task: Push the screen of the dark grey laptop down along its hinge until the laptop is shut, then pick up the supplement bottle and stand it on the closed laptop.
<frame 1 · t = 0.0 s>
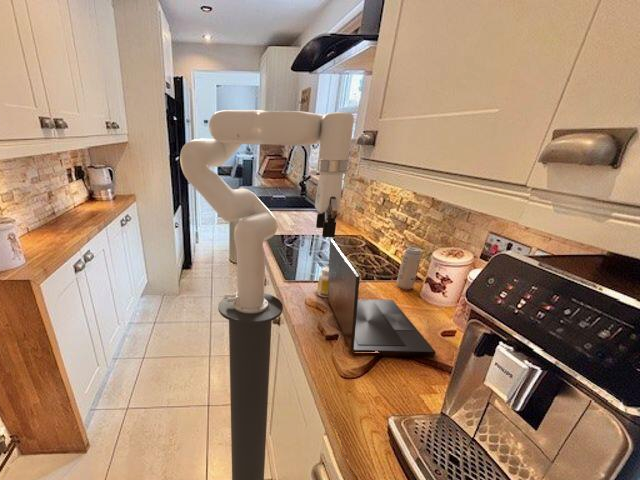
hand: (324, 232, 92), 27 cm above the worktop, tool pointing down, fingers open, 9 cm apart
laptop: (374, 326, 99), on the worktop
supplement bottle: (324, 294, 119), on the worktop
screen: (340, 289, 94), point 12 cm above the worktop, hinge at 95.0°
energy drink can: (404, 287, 125), on the worktop
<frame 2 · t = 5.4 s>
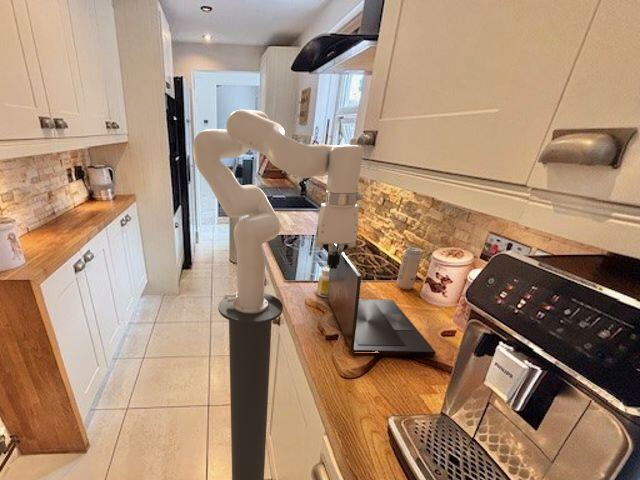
hand: (332, 266, 91), 19 cm above the worktop, tool pointing down, fingers closed
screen: (341, 289, 94), point 12 cm above the worktop, hinge at 93.9°, touching gripper
everything else where it was.
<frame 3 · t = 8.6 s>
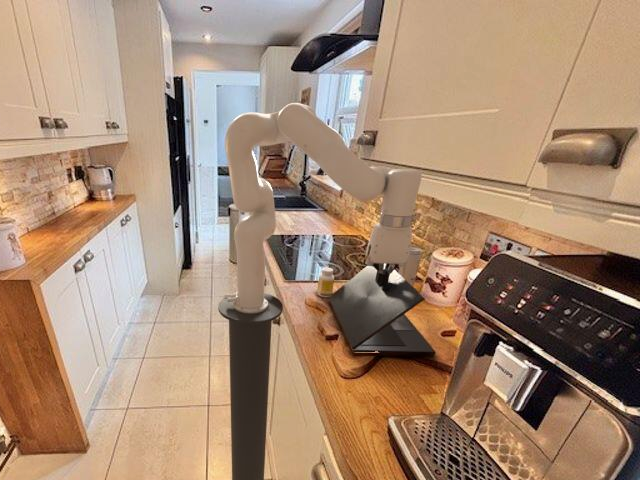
hand: (380, 284, 93), 14 cm above the worktop, tool pointing down, fingers closed
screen: (368, 298, 95), point 10 cm above the worktop, hinge at 46.0°, touching gripper
everything else where it was.
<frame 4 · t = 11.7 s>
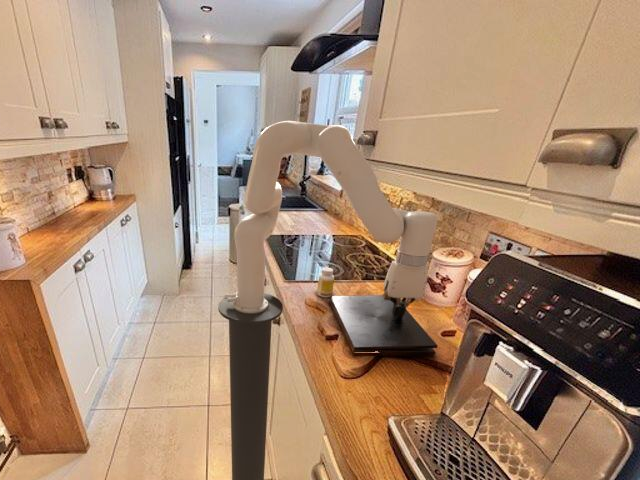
hand: (397, 316, 97), 4 cm above the worktop, tool pointing down, fingers closed
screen: (376, 318, 98), point 3 cm above the worktop, hinge at 3.0°, touching gripper, laptop
everything else where it was.
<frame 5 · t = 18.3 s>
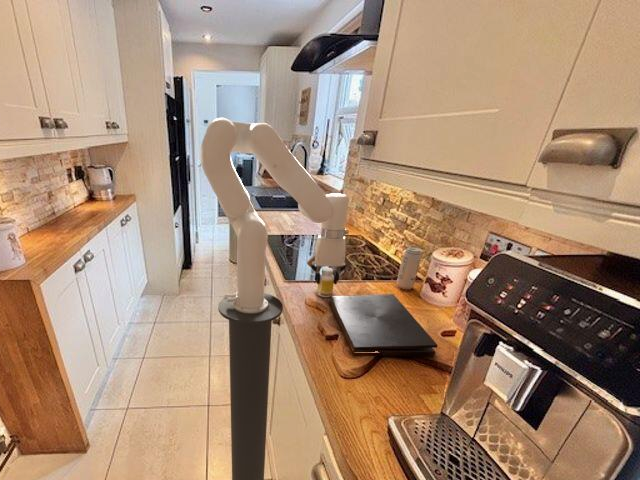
hand: (326, 282, 117), 5 cm above the worktop, tool pointing down, fingers closed on supplement bottle, 5 cm apart
supplement bottle: (324, 294, 119), on the worktop, touching gripper
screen: (376, 318, 98), point 3 cm above the worktop, hinge at 3.4°, touching laptop
everything else where it was.
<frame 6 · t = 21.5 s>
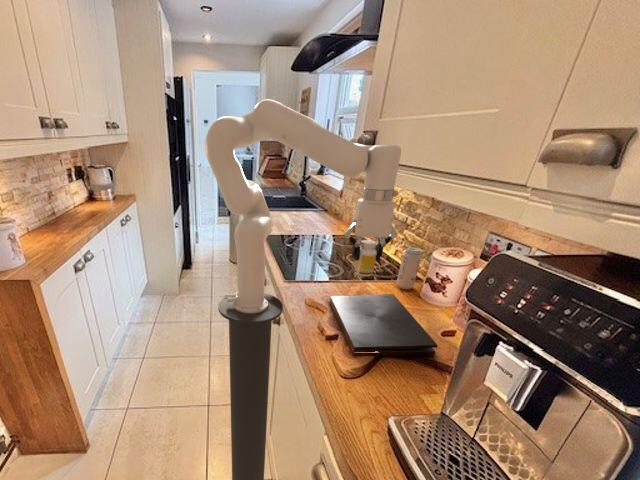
hand: (366, 258, 96), 20 cm above the worktop, tool pointing down, fingers closed on supplement bottle, 5 cm apart
supplement bottle: (363, 274, 98), point 14 cm above the worktop, touching gripper
everything else where it was.
when the fingers open (8 cm above the worktop, at t = 24.9 s): supplement bottle stays where it is, resting on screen.
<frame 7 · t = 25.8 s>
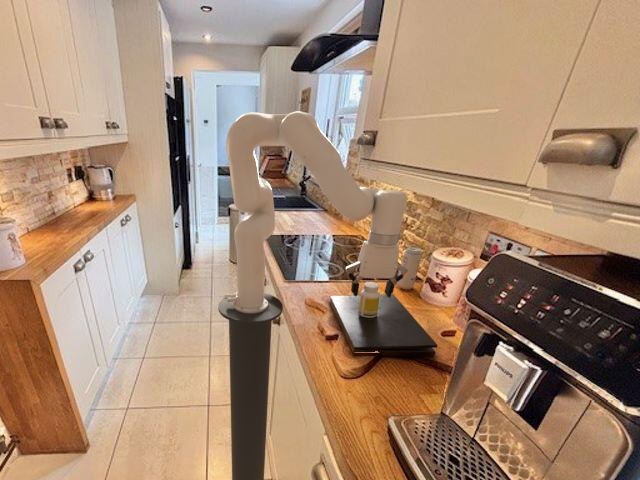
hand: (370, 294, 96), 10 cm above the worktop, tool pointing down, fingers open, 9 cm apart
supplement bottle: (367, 314, 99), point 3 cm above the worktop, touching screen
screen: (376, 318, 98), point 3 cm above the worktop, hinge at 3.4°, touching laptop, supplement bottle
everything else where it was.
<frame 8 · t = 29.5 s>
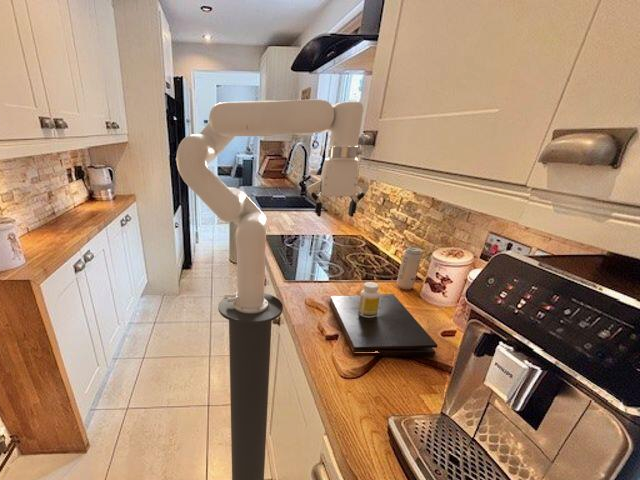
hand: (334, 215, 98), 30 cm above the worktop, tool pointing down, fingers open, 9 cm apart
nothing on the worktop moved.
at the end: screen at +3° (first picture: +95°); supplement bottle inside the target area (3.0 cm from its centre), point 3.0 cm above the worktop; supplement bottle tilted 3° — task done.
